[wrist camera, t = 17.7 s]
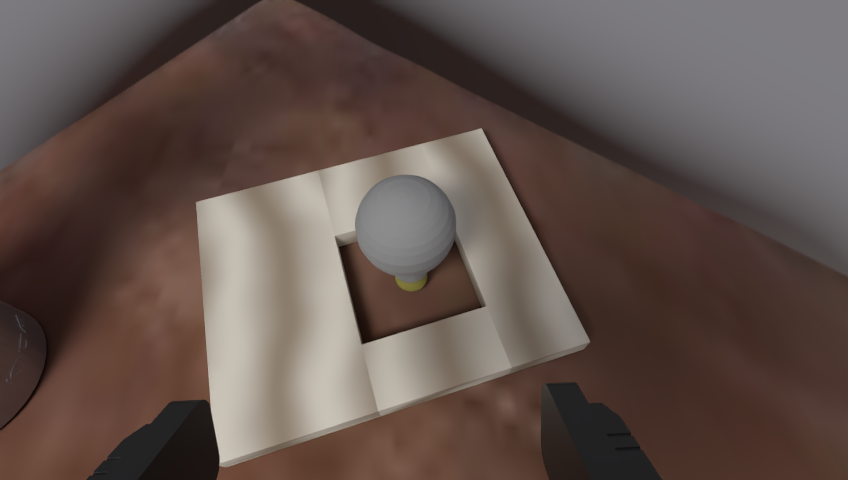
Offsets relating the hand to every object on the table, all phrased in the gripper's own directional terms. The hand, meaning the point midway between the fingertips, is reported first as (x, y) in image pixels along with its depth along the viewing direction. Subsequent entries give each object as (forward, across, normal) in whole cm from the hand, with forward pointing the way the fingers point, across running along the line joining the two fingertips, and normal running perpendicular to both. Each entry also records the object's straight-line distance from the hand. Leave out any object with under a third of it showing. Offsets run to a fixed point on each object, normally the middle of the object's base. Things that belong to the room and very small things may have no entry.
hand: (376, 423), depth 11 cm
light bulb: (+20, 0, +4) cm, 21 cm away
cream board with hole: (+21, +2, +3) cm, 21 cm away
